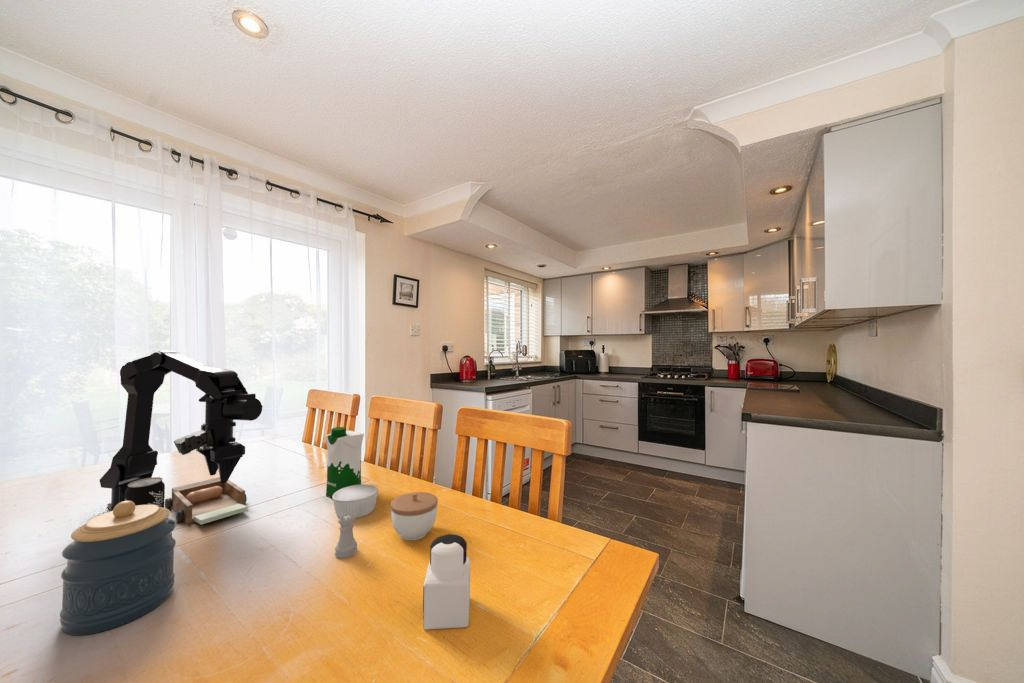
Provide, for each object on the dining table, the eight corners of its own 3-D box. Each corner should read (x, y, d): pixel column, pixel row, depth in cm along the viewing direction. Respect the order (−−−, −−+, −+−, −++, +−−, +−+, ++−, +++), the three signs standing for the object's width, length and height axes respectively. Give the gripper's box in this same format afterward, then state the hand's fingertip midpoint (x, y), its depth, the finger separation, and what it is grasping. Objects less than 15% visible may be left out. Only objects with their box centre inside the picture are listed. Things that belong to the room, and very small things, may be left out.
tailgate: (193, 516, 89) (201, 520, 86) (239, 503, 97) (247, 506, 93) (193, 521, 89) (201, 525, 85) (239, 508, 96) (247, 511, 93)
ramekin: (322, 516, 93) (322, 496, 93) (355, 499, 103) (356, 481, 104) (354, 525, 89) (355, 503, 89) (386, 506, 99) (386, 487, 99)
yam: (184, 504, 97) (184, 492, 97) (220, 494, 104) (220, 483, 104) (187, 507, 95) (187, 495, 95) (224, 497, 102) (224, 485, 102)
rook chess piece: (362, 549, 78) (362, 512, 78) (346, 561, 74) (347, 522, 74) (345, 545, 79) (346, 509, 79) (329, 556, 75) (330, 518, 75)
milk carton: (321, 496, 106) (322, 428, 106) (349, 486, 113) (350, 422, 114) (338, 503, 101) (339, 432, 101) (366, 492, 108) (367, 426, 109)
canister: (67, 652, 51) (71, 528, 52) (52, 615, 58) (56, 506, 58) (185, 598, 62) (188, 496, 63) (161, 573, 69) (163, 481, 70)
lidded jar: (446, 533, 85) (446, 493, 85) (405, 551, 77) (406, 508, 77) (421, 518, 92) (421, 481, 93) (381, 533, 85) (382, 494, 85)
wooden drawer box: (163, 506, 98) (164, 489, 98) (227, 490, 109) (227, 475, 109) (180, 526, 87) (181, 507, 87) (249, 505, 99) (249, 489, 99)
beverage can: (137, 541, 80) (139, 488, 80) (115, 538, 81) (117, 485, 82) (171, 527, 87) (172, 477, 87) (150, 524, 88) (151, 475, 88)
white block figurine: (429, 599, 63) (430, 530, 63) (469, 596, 63) (470, 528, 64) (422, 630, 56) (423, 553, 56) (468, 628, 56) (469, 551, 57)
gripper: (169, 419, 93) (167, 480, 92) (188, 429, 82) (186, 498, 81) (222, 413, 102) (221, 468, 101) (246, 421, 91) (245, 483, 90)
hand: (218, 478), depth 93 cm, fingers open, 9 cm apart
